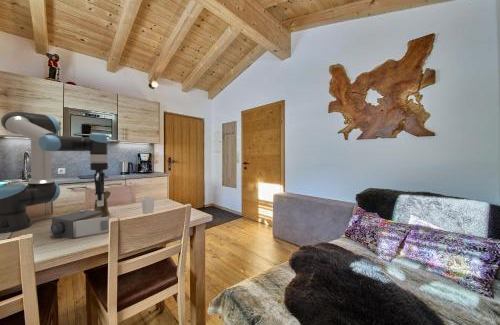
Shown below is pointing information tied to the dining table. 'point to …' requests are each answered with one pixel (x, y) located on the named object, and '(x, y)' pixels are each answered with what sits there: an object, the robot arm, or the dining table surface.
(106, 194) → the brown irregular piece
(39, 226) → the dining table surface
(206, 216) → the dining table surface
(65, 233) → the camera housing
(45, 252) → the dining table surface
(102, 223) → the side door
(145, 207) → the drinking glass
